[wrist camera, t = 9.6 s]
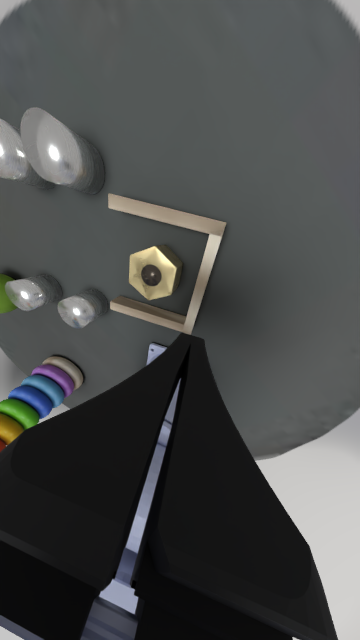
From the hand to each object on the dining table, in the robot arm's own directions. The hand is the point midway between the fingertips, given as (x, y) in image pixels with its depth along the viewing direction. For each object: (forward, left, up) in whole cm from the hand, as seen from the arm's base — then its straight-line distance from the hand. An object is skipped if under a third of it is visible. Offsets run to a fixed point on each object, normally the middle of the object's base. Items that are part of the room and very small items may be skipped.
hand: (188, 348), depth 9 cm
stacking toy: (-23, +21, -10) cm, 32 cm away
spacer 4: (-5, +14, -9) cm, 17 cm away
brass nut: (+1, +5, -10) cm, 11 cm away
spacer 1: (+8, +14, -9) cm, 19 cm away
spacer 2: (+8, +19, -9) cm, 22 cm away
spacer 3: (-5, +21, -9) cm, 23 cm away
